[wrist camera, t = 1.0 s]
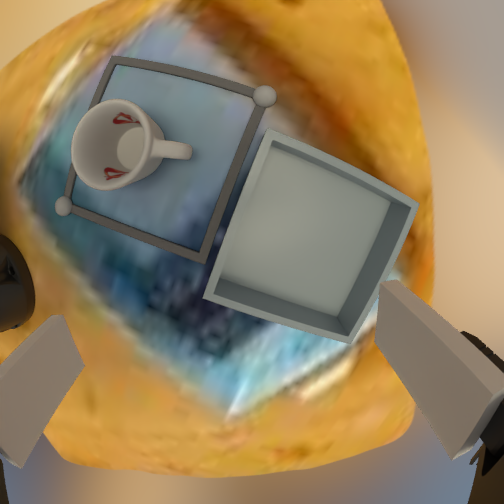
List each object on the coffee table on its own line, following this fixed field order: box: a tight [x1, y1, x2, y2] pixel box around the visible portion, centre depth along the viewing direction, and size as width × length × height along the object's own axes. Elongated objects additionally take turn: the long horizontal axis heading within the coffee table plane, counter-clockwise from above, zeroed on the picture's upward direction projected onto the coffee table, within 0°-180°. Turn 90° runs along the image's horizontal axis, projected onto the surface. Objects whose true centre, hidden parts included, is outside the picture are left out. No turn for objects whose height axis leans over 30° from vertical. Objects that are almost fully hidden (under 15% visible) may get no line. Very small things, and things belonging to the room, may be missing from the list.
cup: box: [71, 99, 192, 191], centre depth 23 cm, size 11×8×8 cm
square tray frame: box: [55, 55, 277, 265], centre depth 27 cm, size 21×21×2 cm
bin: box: [203, 128, 419, 344], centre depth 28 cm, size 17×17×5 cm
